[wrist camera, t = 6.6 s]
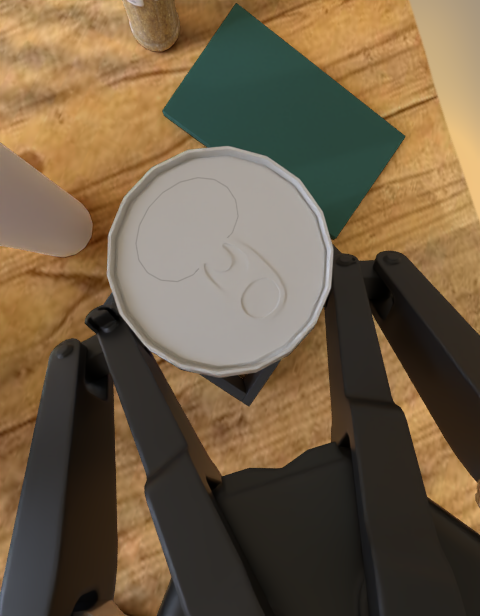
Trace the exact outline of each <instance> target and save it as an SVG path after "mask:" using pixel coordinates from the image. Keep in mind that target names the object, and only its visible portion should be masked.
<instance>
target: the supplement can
mask: <svg viewBox="0 0 480 616" xmlns="http://www.w3.org/2000/svg"><path fill="white" fill-rule="evenodd" d="M332 265H333V246H332V242H331V239H330V235H329V232H328V228H327V225H326V221H325V218H324V214H323V211H322V210H321V208H320V207H319V206H318V204H317V203H316V201H315V200H314V198H313V197H312V196H311V194H310V193H309V191H308V190H307V189H306V187H305V186H304V184H303V183H302V182H301V180H300V179H299V178H297V177H296V176H294V175H293V174H292V173H290V172H289V171H287V170H286V169H285V168H283V167H282V166H280V165H279V164H277V163H276V162H275V161H273V160H272V159H270V158H269V157H267V156H264V155H260V154H257V153H253V152H249V151H245V150H242V149H238V148H234V147H231V146H222V147H211V148H200V149H190V150H186V151H184V152H182V153H180V154H178V155H176V156H174V157H172V158H170V159H168V160H166V161H164V162H162V163H160V164H158V165H155V166H153V167H151V169H150V170H149V171H148V172H147V173H146V174H145V175H144V176H143V177H142V178H141V179H140V180H139V181H138V182H137V183H136V185H135V186H134V187H133V188H132V189H131V190H130V191H129V192H128V193H127V194H126V195H125V196H124V198H123V200H122V202H121V205H120V207H119V210H118V212H117V214H116V217H115V219H114V222H113V224H112V227H111V229H110V231H109V234H108V254H107V278H108V281H109V284H110V287H111V290H112V293H113V296H114V299H115V302H116V305H117V308H118V311H119V314H120V315H121V317H122V318H123V319H124V320H125V322H126V323H127V324H128V325H129V327H130V328H131V329H132V330H133V332H134V333H135V334H136V335H137V337H138V338H139V339H140V340H141V342H142V343H143V344H144V345H145V346H146V347H147V348H148V350H150V351H151V352H153V353H154V354H156V355H158V356H159V357H161V358H163V359H164V360H166V361H168V362H169V363H171V364H172V365H174V366H176V367H177V368H179V369H181V370H184V371H188V372H193V373H198V374H203V375H208V376H213V377H217V378H221V377H228V376H235V375H242V374H249V373H256V372H258V371H260V370H262V369H264V368H265V367H267V366H269V365H271V364H273V363H275V362H277V361H279V360H281V359H283V358H284V357H286V356H288V355H289V354H290V353H291V352H292V351H293V350H294V349H295V348H296V347H297V346H298V345H299V344H300V342H301V341H302V340H303V339H304V338H305V337H306V336H307V335H308V334H309V333H310V332H311V331H312V329H313V328H314V326H315V324H316V322H317V320H318V317H319V315H320V313H321V310H322V308H323V306H324V303H325V301H326V299H327V296H328V294H329V292H330V289H331V281H332Z"/></svg>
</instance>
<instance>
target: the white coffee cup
mask: <svg viewBox="0 0 480 616" xmlns="http://www.w3.org/2000/svg"><path fill="white" fill-rule="evenodd" d="M92 227H93V224H92V220H91V217H90V214H89V212H88V211H87V209H86V208H85V207H84V205H83V204H82V203H81V202H79V201H78V200H77V199H75V198H74V197H73V196H71V195H70V194H69V193H67V192H66V191H65V190H63V189H62V188H61V187H59V186H58V185H57V184H55V183H54V182H53V181H51V180H50V179H49V178H47V177H46V176H45V175H43V174H42V173H41V172H39V171H38V170H36V169H35V168H34V167H32V166H31V165H30V164H28V163H27V162H26V161H24V160H23V159H22V158H20V157H19V156H18V155H16V154H15V153H14V152H12V151H11V150H10V149H8V148H7V147H6V146H4V145H3V144H2V143H0V246H5V247H11V248H16V249H21V250H26V251H31V252H36V253H41V254H46V255H51V256H58V257H67V256H71V255H75V254H77V253H78V252H79V251H81V250H82V249H83V248H85V247H86V245H87V243H88V242H89V240H90V238H91V236H92Z"/></svg>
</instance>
